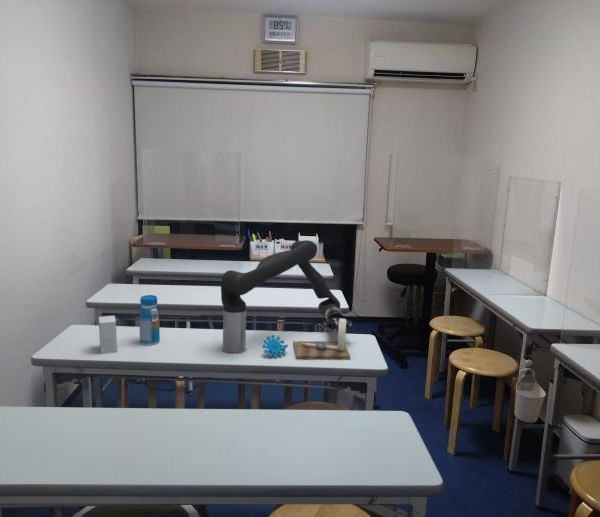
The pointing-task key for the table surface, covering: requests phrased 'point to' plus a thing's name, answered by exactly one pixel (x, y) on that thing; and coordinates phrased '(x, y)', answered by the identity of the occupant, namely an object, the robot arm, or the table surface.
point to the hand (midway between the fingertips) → (340, 330)
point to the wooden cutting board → (318, 351)
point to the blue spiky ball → (274, 346)
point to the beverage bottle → (149, 320)
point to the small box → (107, 334)
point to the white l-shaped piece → (340, 339)
